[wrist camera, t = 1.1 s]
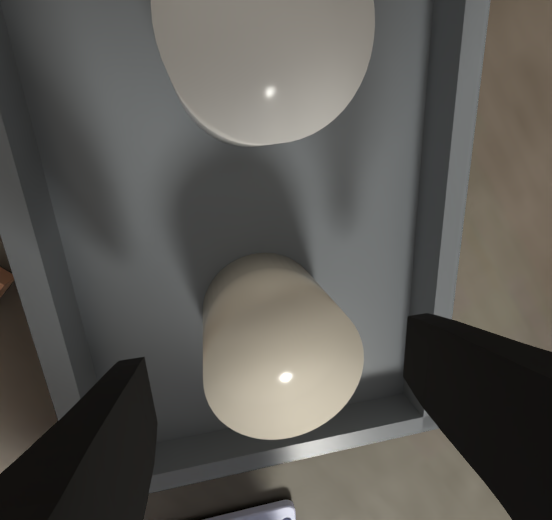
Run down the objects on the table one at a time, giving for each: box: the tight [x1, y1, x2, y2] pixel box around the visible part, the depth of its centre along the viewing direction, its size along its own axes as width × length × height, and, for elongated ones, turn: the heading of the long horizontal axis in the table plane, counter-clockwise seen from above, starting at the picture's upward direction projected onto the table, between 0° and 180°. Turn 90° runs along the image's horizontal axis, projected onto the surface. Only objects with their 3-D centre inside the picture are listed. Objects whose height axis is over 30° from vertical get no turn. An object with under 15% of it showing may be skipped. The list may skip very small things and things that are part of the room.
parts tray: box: [0, 0, 490, 493], centre depth 11 cm, size 20×14×2 cm
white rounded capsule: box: [151, 0, 375, 147], centre depth 8 cm, size 4×4×4 cm
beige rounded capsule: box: [203, 253, 364, 440], centre depth 11 cm, size 4×4×4 cm
